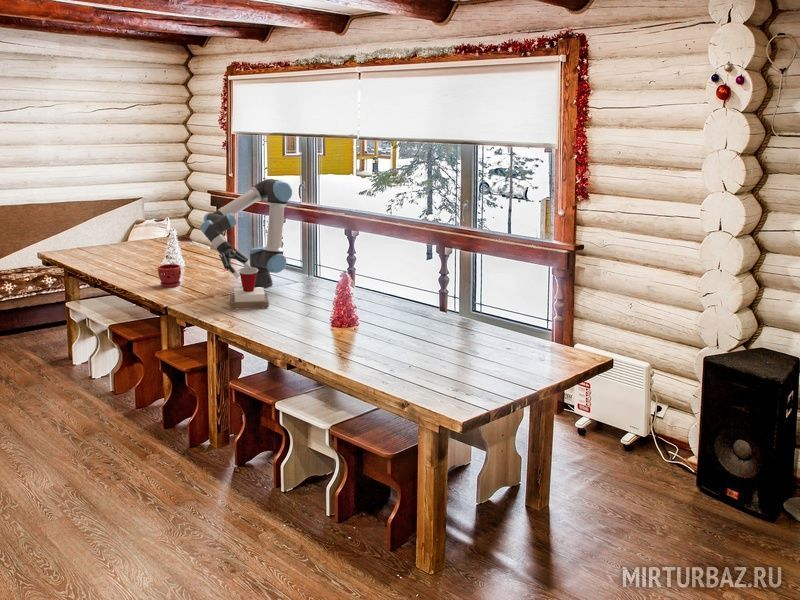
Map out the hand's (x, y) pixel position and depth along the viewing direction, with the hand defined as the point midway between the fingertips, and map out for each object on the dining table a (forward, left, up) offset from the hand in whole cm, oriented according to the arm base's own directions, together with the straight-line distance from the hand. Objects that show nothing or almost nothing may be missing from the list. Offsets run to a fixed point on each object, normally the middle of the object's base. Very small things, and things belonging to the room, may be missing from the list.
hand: (245, 274), depth 440 cm
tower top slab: (+1, +2, -13) cm, 13 cm away
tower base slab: (+1, +2, -17) cm, 17 cm away
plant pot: (-48, -43, -17) cm, 67 cm away
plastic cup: (0, +1, -9) cm, 9 cm away
